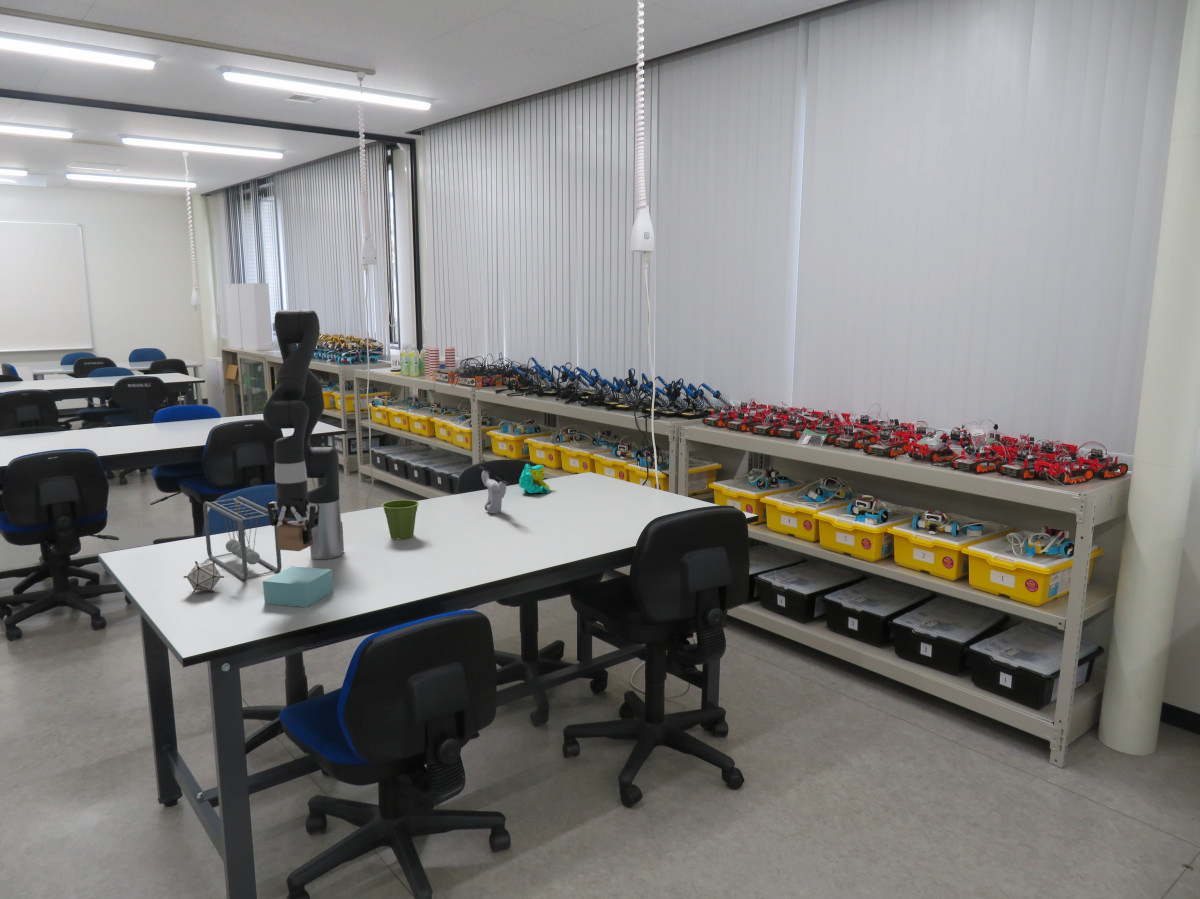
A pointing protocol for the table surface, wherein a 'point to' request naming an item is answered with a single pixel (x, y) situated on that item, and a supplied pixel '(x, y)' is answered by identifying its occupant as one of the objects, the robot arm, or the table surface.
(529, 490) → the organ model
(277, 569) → the newton's cradle
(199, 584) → the game die
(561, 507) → the table surface
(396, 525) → the plant pot
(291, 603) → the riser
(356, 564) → the table surface
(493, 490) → the figurine
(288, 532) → the walnut cube
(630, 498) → the table surface
